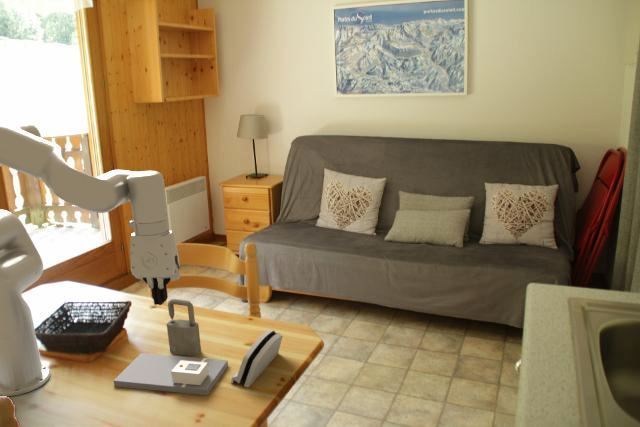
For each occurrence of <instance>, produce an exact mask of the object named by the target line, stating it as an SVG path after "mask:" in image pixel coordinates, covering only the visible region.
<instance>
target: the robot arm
mask: <svg viewBox="0 0 640 427" xmlns="http://www.w3.org/2000/svg"><path fill="white" fill-rule="evenodd" d="M65 156H66V154H65V150H64V149H63V147H61V146H60V145H58V144H57V143H54V142H51V141H49V140H47V139H43V138H42V136H41V133H40V131H39V129H38V128H37V127H36V126H35V125H34V124H33V123H31V122H30V121H28V120H24V119H17V118H16V119H10V120H4V121H0V167H3V166H5V167H8V168H11V169H13V170H15V171H18V172H20V173H23V174H24V175H26V176H27V175H28V177H29V176H30V177H32V178H34V179H37V180H39V181H41V182H43V184H44V185H45V186H46V187H47V188H48V189H49V190H50V191H51V192H52V193H53V194H54V195H55V196H57V197H58V198H59V199H60V200H62V201H65V203H68V204H70V205H73V206H76V207H78V208H81V209H84V210H85V211H88V212H92V213H97V214H103V213H105V214H106V213H108V212H109V213H110V212H111V211H112V210H115V209H116V208H118V207H119V206H121V205H124V204H126V203H128V202H129V203H130V208H131V209H130V211H131V216H132V217H131V218H132V220H130V221H129V222H128V227H129V228H132V229H133V232H132V233H131V235H130V242H129V260H130V271H131V274H132V276H134V278H135V279H137V280H141V281H144V282H145V283H146V285H148V289H151V295H152V300H153V304H154V305H155V306H157V305H159V306H162V305H163V304H165V302H167V300H168V288H167V285H168V284H169V283H170V282H174V281H175V282H176V281H178V280H179V279H180V278H181V274H180V269H181V265H180V264H181V262H180V257H179V250H178V245H177V243H176V238H175V235H174V233H173V231H172V230H170V222H169V215H168V214H169V213H168V206H167V197H166V187H165V186H166V185H165V181H164V175H163V174H162V173H161V172H159V171H156V170H142V171H134V170H133V171H131V170H125V169H113V170H110V171H107V172H106V173H102V174H100V175H98V176H93V175H90V174H88V173H85V172H84V171H81V170H78V169H76V168H75V167H72V166H71V165H70V164H68V163H67V162H66V161H65V158H66V157H65ZM43 273H44V264H43V260H42V258H41V256H40V253H39V251H38V250H37V247H36V246H35V244H34V242H33V241H32V238H31V236H30V234H29V233H28V231H27V229H26V228H25V225H24V224H23V222H22V221H21V220H20V219H19V217H18V216H17V215H16V214H14V213H12V212H11V211H8V210H6V209H2V208H0V396H1V397H2V396H3V397H12V396H19V395H24V394H26V393H29V392H31V391H34V390H36V389H39V388H40V387H41V386H43V385H44V384H45V383H46V382H47V381H48V380H49V379H50V377H51V370H50V367H48V366H46V365H43V364H42V361H41V356H40V351H39V346H38V341H37V334H36V330H35V325H34V320H33V315H32V312H31V308H30V306H29V304H28V303H27V302H26V300H25V299H24V297H23V296H22V293H23V292H24V291H26V289H27V288H29V287H31V286H32V285H33V284H34V283H36V282H38V280H39V279H41V276H42V275H43Z"/></svg>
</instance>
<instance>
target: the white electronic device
mask: <svg viewBox="0 0 640 427" xmlns="http://www.w3.org/2000/svg"><path fill="white" fill-rule="evenodd" d="M171 373H172V382H173V383H182V384H192V385H201V384H202V382H203V381H204V380H205V378H206V377H207V375H208V374H209V370H208V363H207V362H195V361H183V360H181V361H180V362H179V363H178V364H177V365H176V366H175V368H174V369H173V370H172V371H171Z"/></svg>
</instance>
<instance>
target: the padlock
mask: <svg viewBox="0 0 640 427" xmlns="http://www.w3.org/2000/svg"><path fill="white" fill-rule="evenodd" d="M167 304H168V305H167V309H168V310H167V311H168V315H169V317H170V320H169V321H168V322H167V323H166V329H167V331H166V332H167V339H168V347H169V352H170V353H173V354H175V355H178V356H184V357H193V356H198V355H199V354H200V353H201V352H202V346H201V345H202V344H201V338H200V330H199V329H200V326H199V322H196V321H195V320H196V318H195V311H194V310H195V309H194V304H193V303H192V302H191V301H189V300H187V299H179V298H172V299H170V300H169V301H168V302H167ZM174 305H177V306H183V307H187V314H188V319H174V317H175V308H174V307H175V306H174Z"/></svg>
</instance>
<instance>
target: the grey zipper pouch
mask: <svg viewBox="0 0 640 427" xmlns="http://www.w3.org/2000/svg"><path fill="white" fill-rule="evenodd" d="M283 337H284V336H283V334H281V332H276V331H275V330H274V329H271V328H270V329H267V330H266V331H265V332H263V333H262V334H261V335H260V336H259V337H258V338H257V339H256V340H255V342H253V344H252V345H251V346H250V348H249V349H248V351H247V352H246V353H245V354H244V356H243V357H242V362H241V364H240V367H239V370H238V371H237V372H236V373H235V374H234V375H233V376H232V378H231V381H230V384H231V385H233V384H234V383H235V382H236V383H238V384H240V383H243V387H245V388H250V387H251V386H252V385H253V384H254V382H255V381H256V380H257V378H259V377H260V375H261V374H262V373H263V371H265V369H266V368H267V367H268V366H269V365H270V364H271V362H272V361H274V359H275V358H276V357H277V356H278V355H279V351H280V348H281V345H282V340H283Z"/></svg>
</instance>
